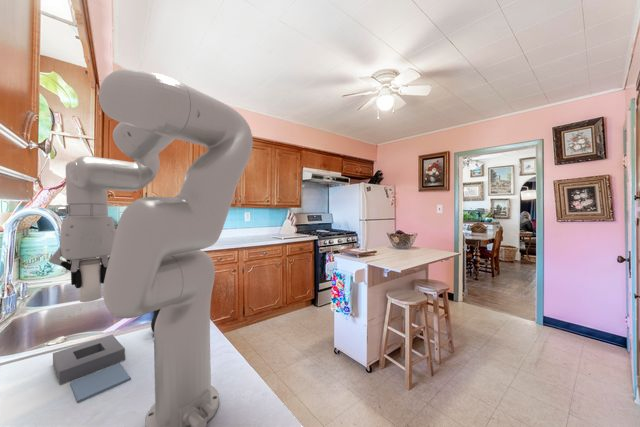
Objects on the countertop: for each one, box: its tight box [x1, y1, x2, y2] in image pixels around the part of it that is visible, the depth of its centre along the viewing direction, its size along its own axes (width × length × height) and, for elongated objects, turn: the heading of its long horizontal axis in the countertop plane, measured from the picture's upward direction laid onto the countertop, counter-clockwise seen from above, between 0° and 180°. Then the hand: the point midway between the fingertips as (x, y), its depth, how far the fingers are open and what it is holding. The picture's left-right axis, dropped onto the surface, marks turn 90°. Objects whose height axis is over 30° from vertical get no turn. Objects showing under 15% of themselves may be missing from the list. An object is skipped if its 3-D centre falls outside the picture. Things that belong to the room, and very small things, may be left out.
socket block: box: [52, 334, 126, 386], centre depth 65 cm, size 12×12×3 cm
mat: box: [69, 362, 132, 404], centre depth 58 cm, size 9×9×1 cm
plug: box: [78, 257, 102, 303], centre depth 63 cm, size 4×4×10 cm
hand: (90, 284), depth 63 cm, fingers closed on plug, 4 cm apart
